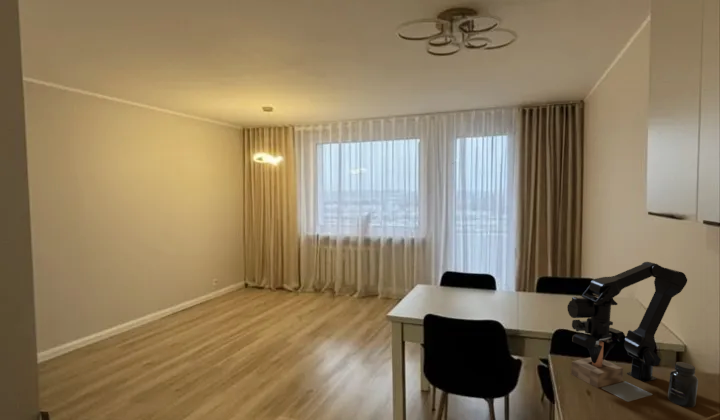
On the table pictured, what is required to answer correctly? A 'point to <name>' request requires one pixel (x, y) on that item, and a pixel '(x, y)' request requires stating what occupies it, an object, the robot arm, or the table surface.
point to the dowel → (599, 357)
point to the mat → (626, 391)
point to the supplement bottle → (683, 385)
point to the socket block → (597, 372)
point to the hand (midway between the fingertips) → (597, 361)
